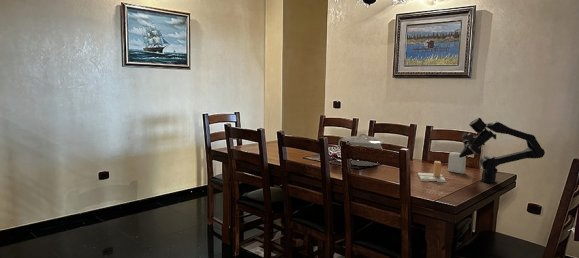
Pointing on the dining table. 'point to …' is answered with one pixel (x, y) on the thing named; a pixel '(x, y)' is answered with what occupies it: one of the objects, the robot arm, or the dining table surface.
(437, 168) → the switch knob
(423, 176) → the switch panel
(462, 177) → the dining table surface
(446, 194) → the dining table surface
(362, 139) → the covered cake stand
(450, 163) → the photo printer
